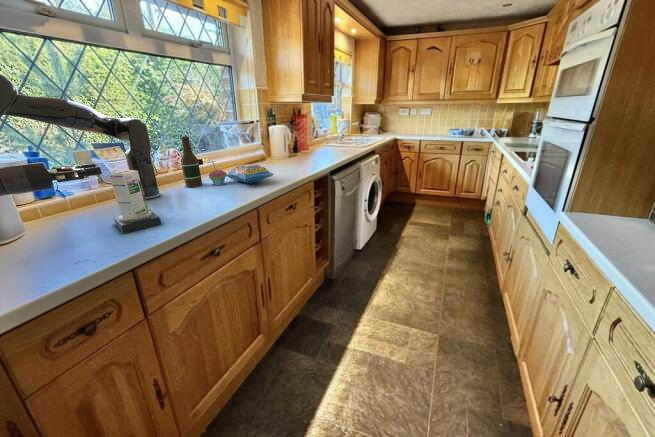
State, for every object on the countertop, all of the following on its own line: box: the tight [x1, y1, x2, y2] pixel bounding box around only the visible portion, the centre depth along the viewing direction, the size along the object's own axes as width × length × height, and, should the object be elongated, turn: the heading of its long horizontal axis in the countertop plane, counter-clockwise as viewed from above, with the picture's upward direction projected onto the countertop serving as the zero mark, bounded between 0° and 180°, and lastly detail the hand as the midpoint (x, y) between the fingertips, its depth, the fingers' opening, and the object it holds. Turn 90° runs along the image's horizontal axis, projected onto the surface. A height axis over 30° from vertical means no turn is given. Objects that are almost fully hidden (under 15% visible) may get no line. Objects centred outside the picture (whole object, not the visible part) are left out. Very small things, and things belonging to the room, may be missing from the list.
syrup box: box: [108, 169, 149, 217], centre depth 98 cm, size 6×6×14 cm
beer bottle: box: [180, 135, 203, 188], centre depth 147 cm, size 8×8×24 cm
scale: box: [113, 208, 162, 234], centre depth 101 cm, size 12×11×3 cm
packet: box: [226, 164, 275, 185], centre depth 153 cm, size 17×24×8 cm
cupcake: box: [208, 159, 228, 186], centre depth 151 cm, size 9×8×12 cm
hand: (98, 168), depth 92 cm, fingers open, 8 cm apart
